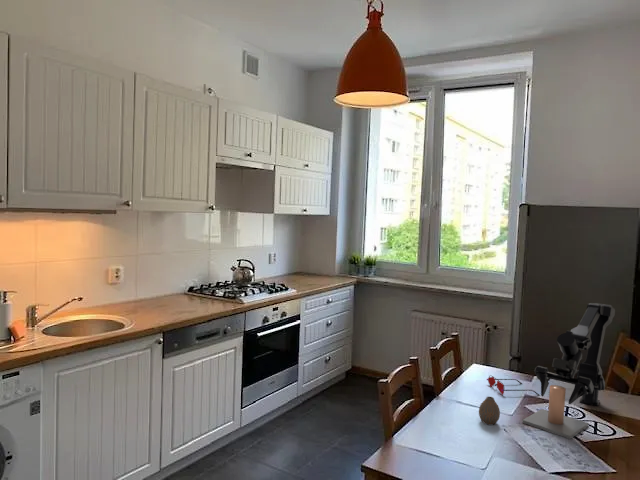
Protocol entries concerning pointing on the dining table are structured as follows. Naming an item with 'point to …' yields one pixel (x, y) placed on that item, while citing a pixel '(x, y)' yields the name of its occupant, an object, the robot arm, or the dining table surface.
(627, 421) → the dining table surface
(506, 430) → the dining table surface
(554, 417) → the tan cylinder
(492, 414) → the vase
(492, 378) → the glasses
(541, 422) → the tile
